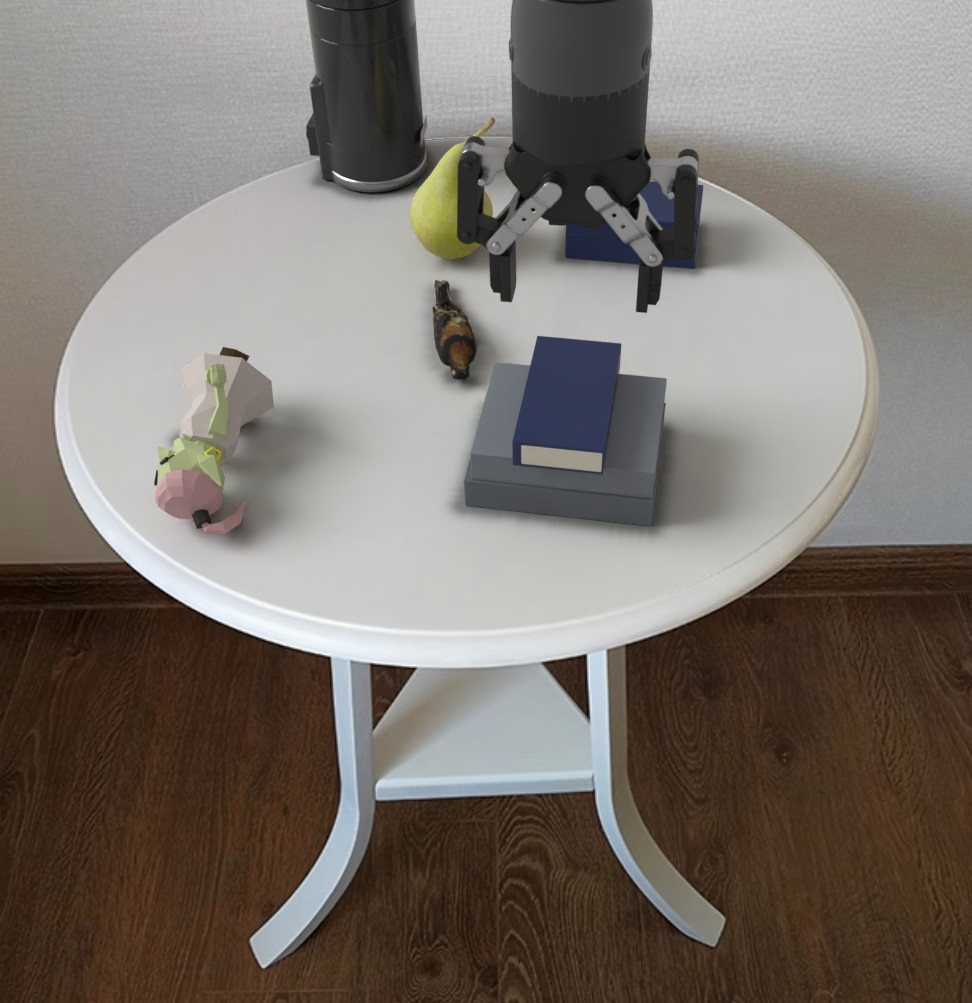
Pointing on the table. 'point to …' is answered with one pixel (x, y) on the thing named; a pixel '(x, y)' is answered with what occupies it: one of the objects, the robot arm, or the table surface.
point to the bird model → (452, 333)
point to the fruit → (443, 207)
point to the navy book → (567, 405)
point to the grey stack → (568, 493)
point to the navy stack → (611, 247)
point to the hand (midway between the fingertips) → (574, 299)
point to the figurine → (210, 436)
